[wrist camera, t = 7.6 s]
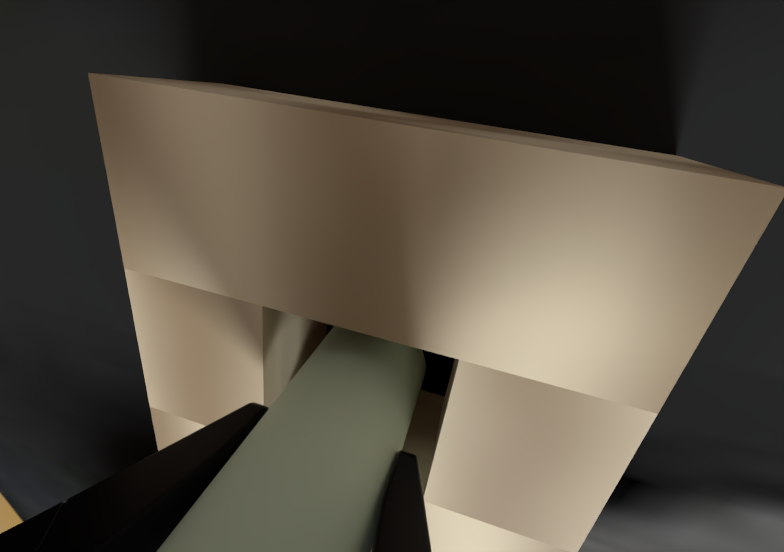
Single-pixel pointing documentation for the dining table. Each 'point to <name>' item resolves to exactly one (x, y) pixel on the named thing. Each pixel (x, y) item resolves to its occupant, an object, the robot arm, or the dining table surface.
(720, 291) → the hole board
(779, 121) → the dining table surface
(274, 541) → the peg
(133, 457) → the dining table surface
